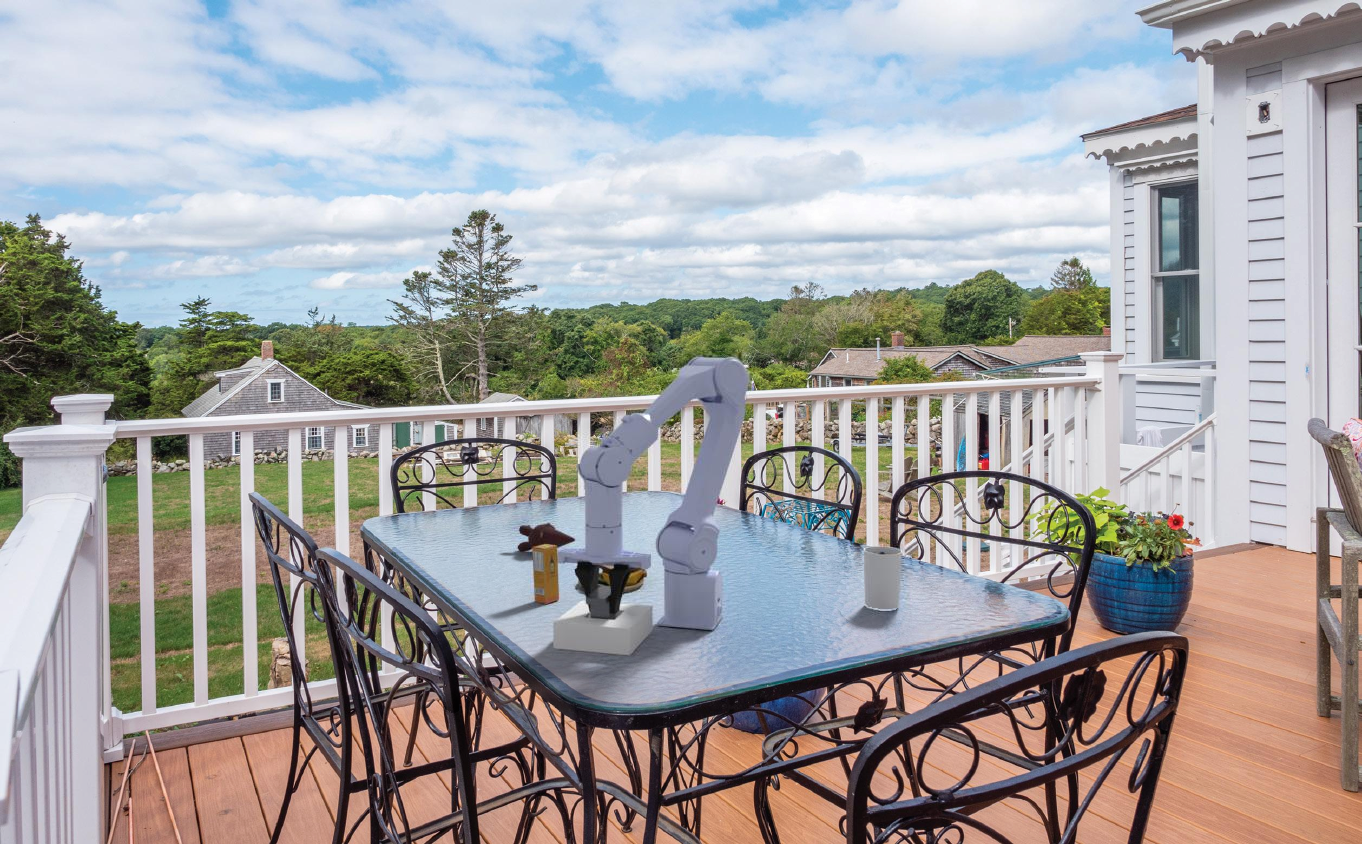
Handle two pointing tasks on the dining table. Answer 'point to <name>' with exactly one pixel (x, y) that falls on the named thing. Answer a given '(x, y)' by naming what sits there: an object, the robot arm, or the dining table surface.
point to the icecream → (543, 537)
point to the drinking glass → (882, 576)
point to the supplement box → (545, 573)
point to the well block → (603, 629)
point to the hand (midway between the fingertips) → (604, 611)
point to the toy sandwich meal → (633, 580)
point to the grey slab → (600, 603)
